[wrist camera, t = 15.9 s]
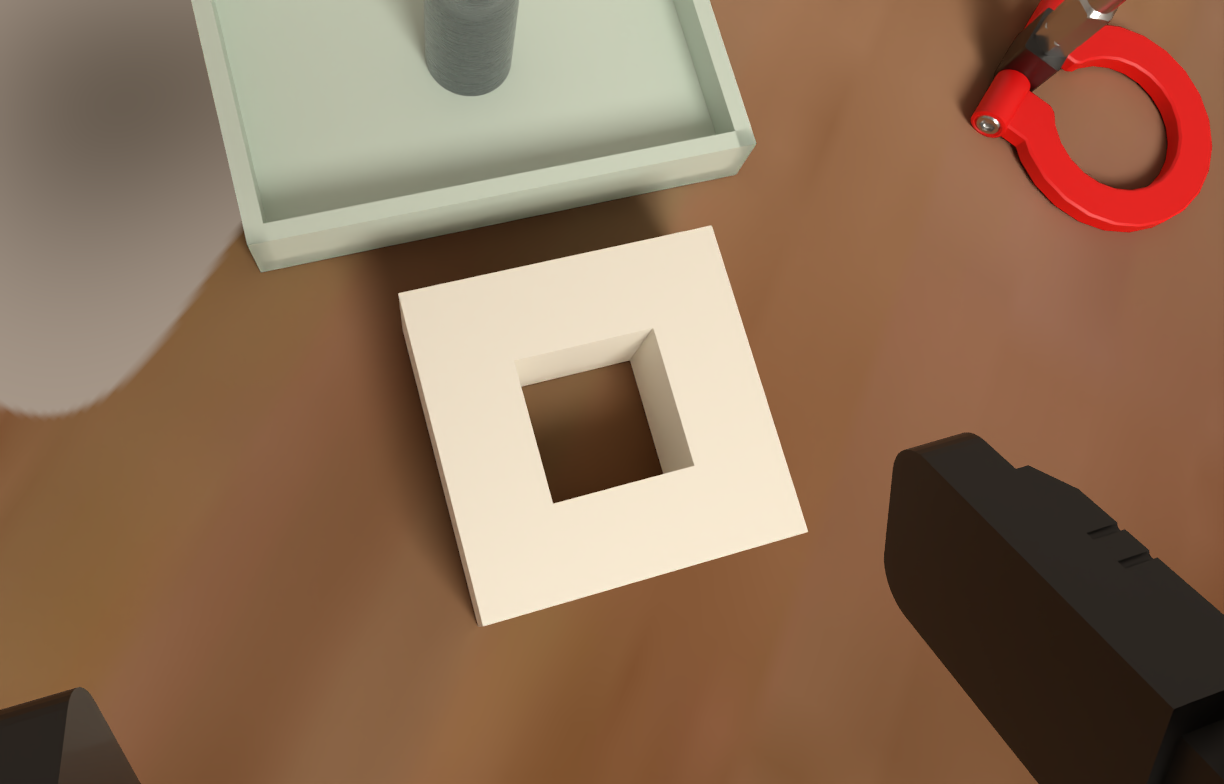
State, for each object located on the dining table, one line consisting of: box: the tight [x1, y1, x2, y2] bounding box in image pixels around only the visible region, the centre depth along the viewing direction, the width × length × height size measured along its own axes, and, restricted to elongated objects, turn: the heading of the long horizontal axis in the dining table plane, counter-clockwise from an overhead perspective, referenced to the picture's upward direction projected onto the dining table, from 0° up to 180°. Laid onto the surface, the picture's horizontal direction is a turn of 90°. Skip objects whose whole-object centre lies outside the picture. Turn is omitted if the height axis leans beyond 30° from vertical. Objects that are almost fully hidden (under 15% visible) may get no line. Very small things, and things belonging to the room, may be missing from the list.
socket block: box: [398, 226, 808, 626], centre depth 33 cm, size 10×10×4 cm
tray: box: [191, 0, 756, 272], centre depth 36 cm, size 17×12×2 cm
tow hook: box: [971, 0, 1212, 232], centre depth 35 cm, size 8×13×9 cm
